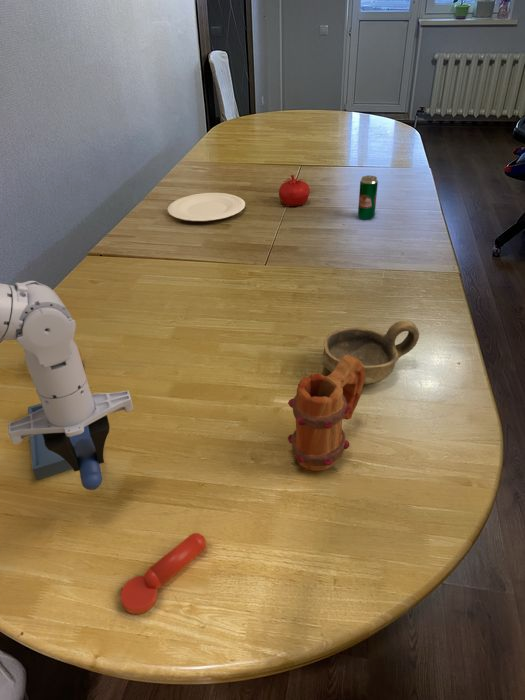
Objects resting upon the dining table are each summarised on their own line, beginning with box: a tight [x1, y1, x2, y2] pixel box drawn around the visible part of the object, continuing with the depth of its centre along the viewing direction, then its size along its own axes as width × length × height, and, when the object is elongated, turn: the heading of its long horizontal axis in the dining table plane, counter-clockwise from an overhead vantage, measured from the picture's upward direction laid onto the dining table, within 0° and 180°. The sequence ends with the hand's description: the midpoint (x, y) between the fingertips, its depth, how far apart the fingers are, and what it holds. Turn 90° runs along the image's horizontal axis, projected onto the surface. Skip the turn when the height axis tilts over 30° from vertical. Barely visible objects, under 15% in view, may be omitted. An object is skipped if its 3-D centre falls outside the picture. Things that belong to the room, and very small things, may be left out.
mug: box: [287, 355, 365, 472], centre depth 76 cm, size 15×8×15 cm, turn 136°
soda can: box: [357, 174, 379, 221], centre depth 154 cm, size 5×5×12 cm
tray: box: [27, 403, 88, 480], centre depth 84 cm, size 15×9×2 cm, turn 23°
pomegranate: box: [278, 174, 311, 207], centre depth 167 cm, size 10×10×9 cm
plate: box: [167, 192, 246, 223], centre depth 166 cm, size 25×25×2 cm
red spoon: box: [120, 532, 207, 615], centre depth 64 cm, size 12×4×3 cm, turn 135°
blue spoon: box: [69, 426, 103, 491], centre depth 70 cm, size 12×4×3 cm, turn 23°
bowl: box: [320, 319, 420, 385], centre depth 93 cm, size 14×18×10 cm
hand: (88, 461), depth 69 cm, fingers closed on blue spoon, 2 cm apart
